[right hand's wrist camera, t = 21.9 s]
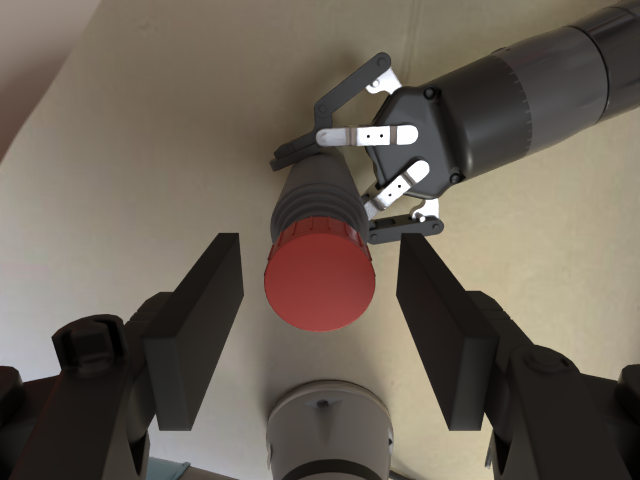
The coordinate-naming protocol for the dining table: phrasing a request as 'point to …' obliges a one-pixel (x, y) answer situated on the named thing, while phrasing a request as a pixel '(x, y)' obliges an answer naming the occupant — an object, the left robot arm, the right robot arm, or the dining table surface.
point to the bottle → (320, 194)
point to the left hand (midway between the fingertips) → (289, 199)
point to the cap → (319, 275)
